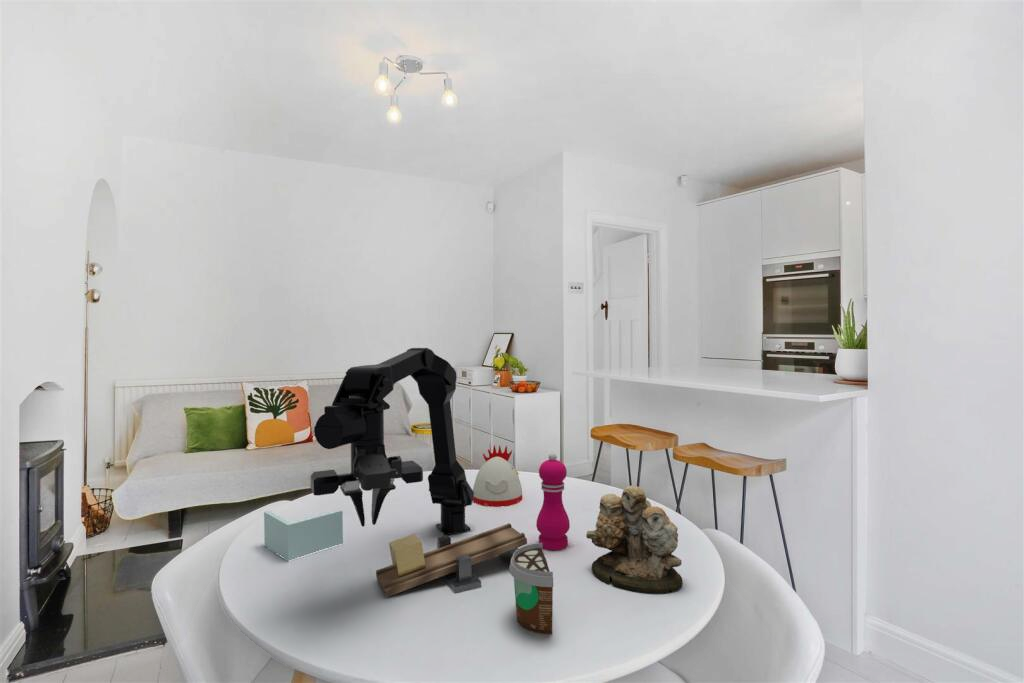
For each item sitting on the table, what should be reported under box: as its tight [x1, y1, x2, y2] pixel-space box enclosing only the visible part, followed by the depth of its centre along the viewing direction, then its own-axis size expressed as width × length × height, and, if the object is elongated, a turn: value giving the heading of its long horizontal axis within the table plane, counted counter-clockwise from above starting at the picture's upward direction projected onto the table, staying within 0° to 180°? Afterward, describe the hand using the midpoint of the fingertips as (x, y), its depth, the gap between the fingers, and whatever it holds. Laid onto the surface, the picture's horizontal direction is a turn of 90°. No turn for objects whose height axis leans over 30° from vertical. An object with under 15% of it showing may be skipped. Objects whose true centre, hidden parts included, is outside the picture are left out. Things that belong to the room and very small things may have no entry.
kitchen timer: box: [472, 444, 523, 508], centre depth 148 cm, size 14×14×15 cm
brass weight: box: [388, 533, 426, 578], centre depth 98 cm, size 5×4×6 cm
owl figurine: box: [585, 484, 684, 595], centre depth 100 cm, size 18×12×17 cm, turn 63°
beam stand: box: [436, 535, 520, 594], centre depth 105 cm, size 16×15×5 cm
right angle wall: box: [263, 509, 344, 562], centre depth 117 cm, size 12×12×8 cm
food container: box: [508, 542, 554, 635], centre depth 86 cm, size 12×6×10 cm, turn 5°
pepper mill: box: [535, 452, 571, 551], centre depth 116 cm, size 7×7×20 cm
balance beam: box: [375, 523, 528, 598], centre depth 102 cm, size 28×8×2 cm, turn 116°
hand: (368, 525), depth 95 cm, fingers closed
